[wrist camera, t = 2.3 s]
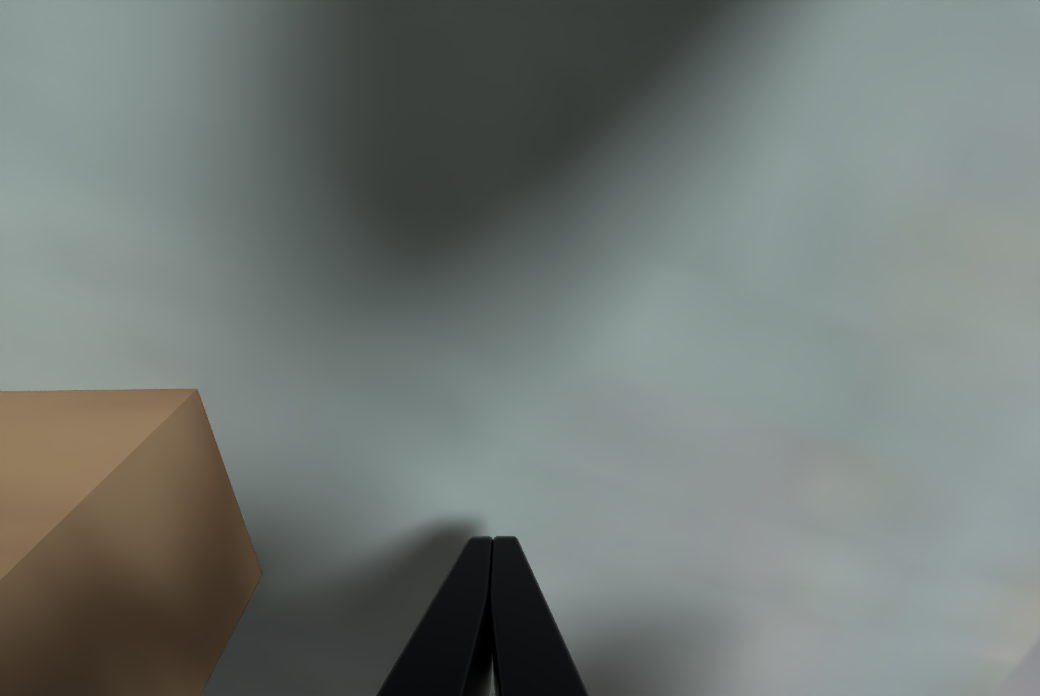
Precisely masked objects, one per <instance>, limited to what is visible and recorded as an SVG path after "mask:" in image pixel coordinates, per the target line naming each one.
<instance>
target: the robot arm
mask: <svg viewBox="0 0 1040 696" xmlns="http://www.w3.org/2000/svg"><path fill="white" fill-rule="evenodd" d="M492 664H493V671H494V686H495V696H589V695H588V692H587V690H586V688H585V686H584V684H583V681H582V679H581V677H580V675H579V673H578V670H577V668H576V666H575V664H574V662H573V659H572V657H571V655H570V653H569V651H568V648H567V646H566V644H565V642H564V640H563V637H562V635H561V633H560V631H559V629H558V627H557V624H556V622H555V620H554V618H553V616H552V613H551V611H550V609H549V607H548V605H547V602H546V600H545V598H544V596H543V594H542V591H541V589H540V587H539V585H538V583H537V580H536V578H535V576H534V574H533V572H532V569H531V567H530V565H529V563H528V561H527V559H526V556H525V554H524V552H523V550H522V548H521V545H520V543H519V541H518V539H517V538H516V537H515V536H496V537H495V538H494V539H492V537H490V536H474V537H471V538H469V540H468V541H467V543H466V544H465V546H464V548H463V549H462V551H461V553H460V554H459V556H458V558H457V560H456V561H455V563H454V565H453V566H452V568H451V570H450V571H449V573H448V575H447V577H446V578H445V580H444V582H443V583H442V585H441V587H440V588H439V590H438V592H437V593H436V595H435V597H434V599H433V600H432V602H431V604H430V605H429V607H428V609H427V610H426V612H425V614H424V616H423V617H422V619H421V621H420V622H419V624H418V626H417V627H416V629H415V631H414V633H413V634H412V636H411V638H410V639H409V641H408V643H407V644H406V646H405V648H404V649H403V651H402V653H401V655H400V656H399V658H398V660H397V661H396V663H395V665H394V666H393V668H392V670H391V672H390V673H389V675H388V677H387V678H386V680H385V682H384V683H383V685H382V687H381V689H380V690H379V692H378V694H377V695H376V696H489V693H490V685H491V676H492Z"/></svg>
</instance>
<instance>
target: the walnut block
mask: <svg viewBox="0 0 1040 696" xmlns="http://www.w3.org/2000/svg"><path fill="white" fill-rule="evenodd" d="M261 575H262V572H261V569H260V566H259V563H258V560H257V557H256V555H255V552H254V549H253V546H252V543H251V540H250V537H249V535H248V532H247V529H246V526H245V523H244V520H243V518H242V515H241V512H240V509H239V506H238V503H237V500H236V498H235V495H234V492H233V489H232V486H231V483H230V480H229V478H228V475H227V472H226V469H225V466H224V463H223V461H222V458H221V455H220V452H219V449H218V446H217V443H216V441H215V438H214V435H213V432H212V429H211V426H210V423H209V421H208V418H207V415H206V412H205V409H204V406H203V404H202V401H201V398H200V395H199V392H198V389H141V390H70V391H0V696H200V695H201V693H202V691H203V689H204V687H205V685H206V683H207V681H208V679H209V677H210V675H211V673H212V671H213V669H214V667H215V665H216V663H217V661H218V660H219V658H220V656H221V654H222V652H223V650H224V648H225V646H226V644H227V642H228V640H229V638H230V636H231V634H232V632H233V630H234V628H235V626H236V624H237V622H238V620H239V618H240V617H241V615H242V613H243V611H244V609H245V607H246V605H247V603H248V601H249V599H250V597H251V595H252V593H253V591H254V589H255V587H256V585H257V583H258V581H259V579H260V577H261Z"/></svg>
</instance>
